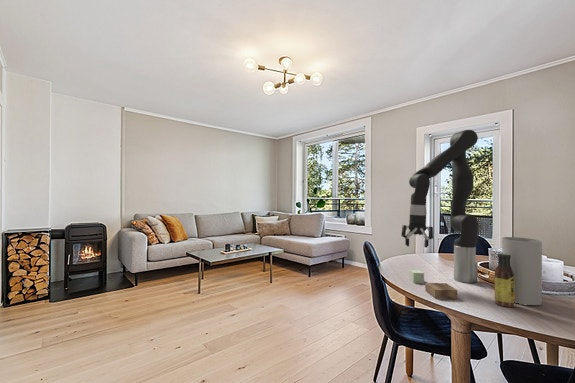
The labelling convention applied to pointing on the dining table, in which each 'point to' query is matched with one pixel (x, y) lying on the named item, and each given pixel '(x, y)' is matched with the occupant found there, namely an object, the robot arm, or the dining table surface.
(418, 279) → the green cube
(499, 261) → the sauce bottle
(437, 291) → the walnut base
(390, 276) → the dining table surface
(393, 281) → the dining table surface
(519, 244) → the cylinder vase
